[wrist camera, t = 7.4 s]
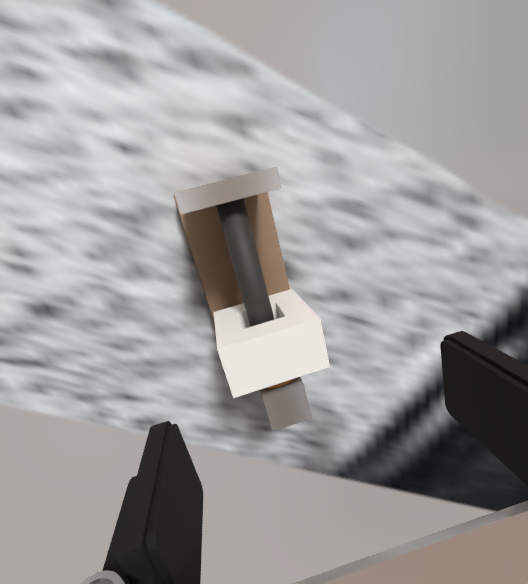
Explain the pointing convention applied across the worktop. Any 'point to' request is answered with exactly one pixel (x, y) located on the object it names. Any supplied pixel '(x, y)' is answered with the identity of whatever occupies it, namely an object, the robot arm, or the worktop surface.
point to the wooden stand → (242, 264)
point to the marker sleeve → (270, 344)
